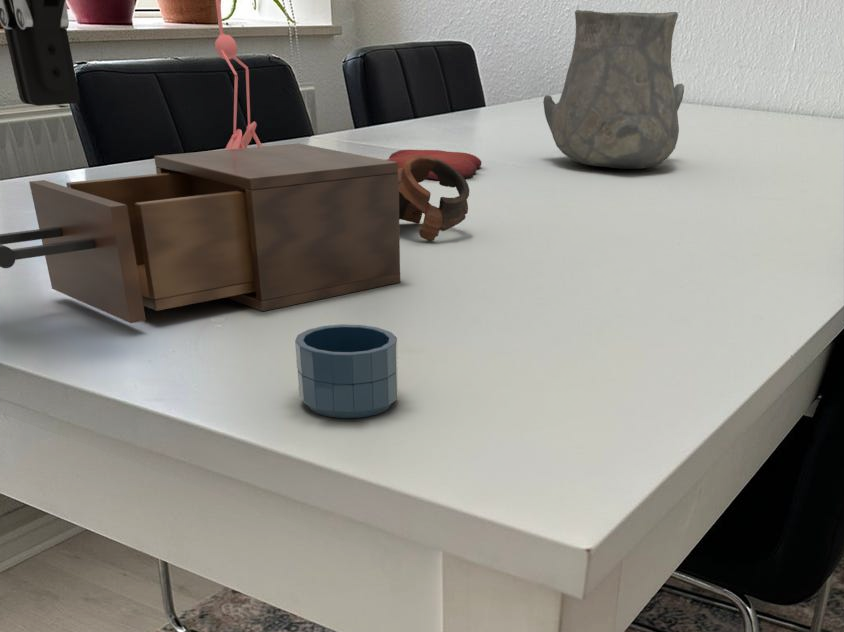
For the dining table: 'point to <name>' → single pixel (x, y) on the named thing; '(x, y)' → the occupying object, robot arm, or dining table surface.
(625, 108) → the vessel
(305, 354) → the blue cup
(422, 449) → the dining table surface
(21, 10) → the robot arm
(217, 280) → the drawer
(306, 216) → the cabinet
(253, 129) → the figurine
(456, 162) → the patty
